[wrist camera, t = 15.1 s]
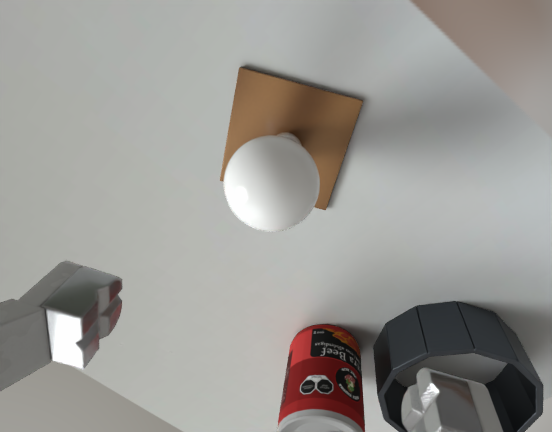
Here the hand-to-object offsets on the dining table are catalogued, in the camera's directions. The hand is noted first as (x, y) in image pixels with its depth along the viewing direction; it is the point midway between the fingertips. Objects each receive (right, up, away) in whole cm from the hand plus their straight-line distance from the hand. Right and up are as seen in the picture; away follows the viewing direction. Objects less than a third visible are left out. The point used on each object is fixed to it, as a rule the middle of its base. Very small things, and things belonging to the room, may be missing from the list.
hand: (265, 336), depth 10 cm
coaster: (+1, +9, +22) cm, 24 cm away
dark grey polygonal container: (+18, -12, +31) cm, 38 cm away
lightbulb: (+1, +9, +22) cm, 24 cm away
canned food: (+6, -12, +33) cm, 36 cm away
